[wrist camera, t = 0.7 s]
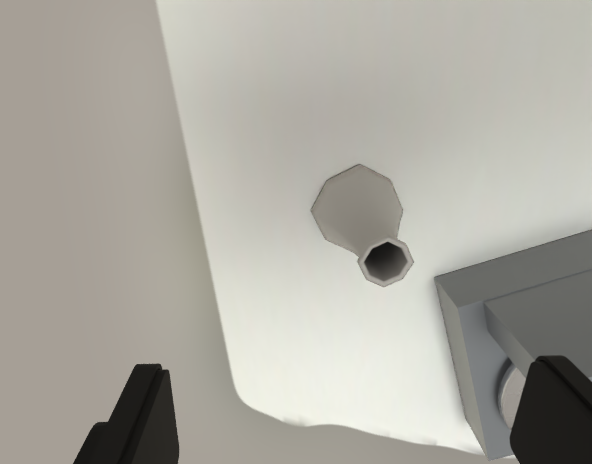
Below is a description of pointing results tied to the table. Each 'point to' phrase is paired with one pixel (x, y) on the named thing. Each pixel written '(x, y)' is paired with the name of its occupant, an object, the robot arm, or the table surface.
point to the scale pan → (510, 394)
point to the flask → (365, 222)
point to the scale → (516, 324)
